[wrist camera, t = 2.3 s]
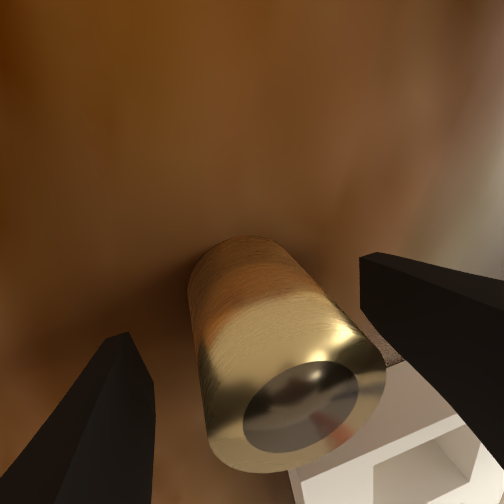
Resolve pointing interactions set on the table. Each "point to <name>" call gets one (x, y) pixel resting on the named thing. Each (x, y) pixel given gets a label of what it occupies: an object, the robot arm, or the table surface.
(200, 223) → the table surface
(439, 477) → the jig plate
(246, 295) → the brass bushing
